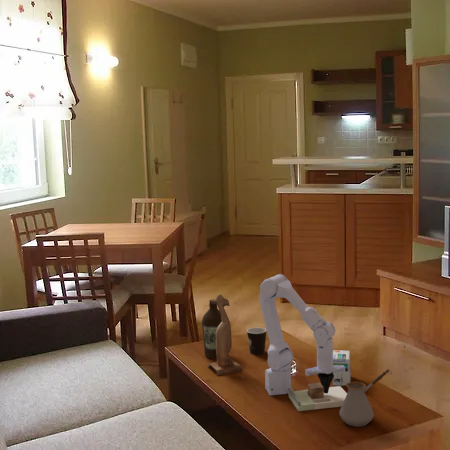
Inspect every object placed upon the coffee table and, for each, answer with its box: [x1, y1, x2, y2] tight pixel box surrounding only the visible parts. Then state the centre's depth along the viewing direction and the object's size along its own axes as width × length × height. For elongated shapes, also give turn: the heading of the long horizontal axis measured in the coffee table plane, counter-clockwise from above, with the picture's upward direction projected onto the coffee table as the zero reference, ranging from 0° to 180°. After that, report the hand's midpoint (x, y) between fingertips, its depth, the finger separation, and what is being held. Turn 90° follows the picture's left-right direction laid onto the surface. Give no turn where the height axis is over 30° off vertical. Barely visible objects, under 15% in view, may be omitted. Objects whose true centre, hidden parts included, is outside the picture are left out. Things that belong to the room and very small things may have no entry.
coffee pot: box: [338, 368, 393, 428], centre depth 229 cm, size 21×12×15 cm, turn 121°
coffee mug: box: [246, 327, 267, 356], centre depth 300 cm, size 12×9×10 cm
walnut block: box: [307, 382, 324, 399], centre depth 244 cm, size 5×5×4 cm
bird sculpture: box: [207, 294, 242, 376], centre depth 278 cm, size 11×12×32 cm
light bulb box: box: [332, 349, 352, 387], centre depth 262 cm, size 11×7×11 cm, turn 168°
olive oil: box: [201, 298, 222, 360], centre depth 296 cm, size 11×11×25 cm
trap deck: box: [288, 385, 348, 412], centre depth 245 cm, size 20×13×4 cm, turn 100°
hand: (325, 392), depth 245 cm, fingers closed
